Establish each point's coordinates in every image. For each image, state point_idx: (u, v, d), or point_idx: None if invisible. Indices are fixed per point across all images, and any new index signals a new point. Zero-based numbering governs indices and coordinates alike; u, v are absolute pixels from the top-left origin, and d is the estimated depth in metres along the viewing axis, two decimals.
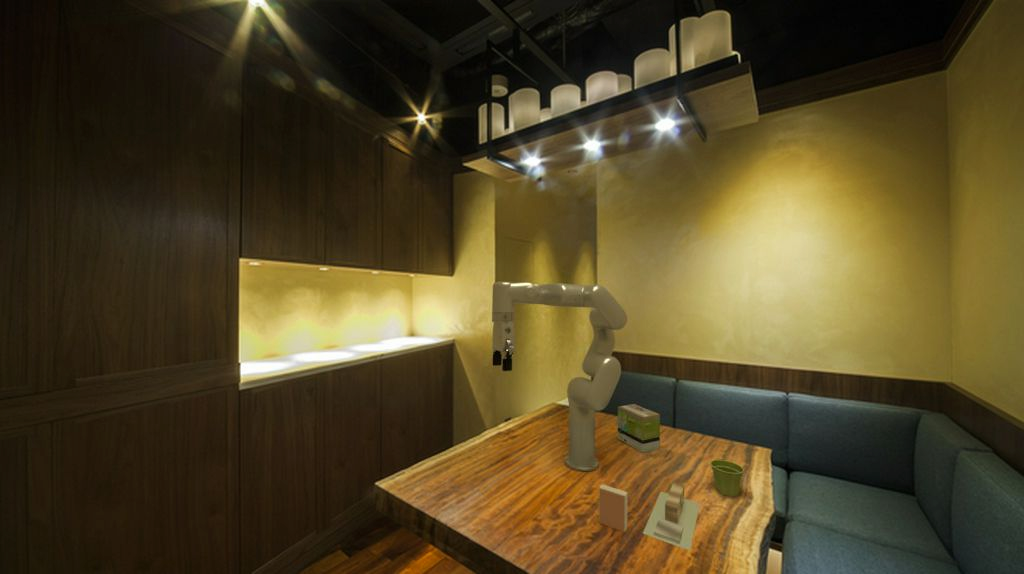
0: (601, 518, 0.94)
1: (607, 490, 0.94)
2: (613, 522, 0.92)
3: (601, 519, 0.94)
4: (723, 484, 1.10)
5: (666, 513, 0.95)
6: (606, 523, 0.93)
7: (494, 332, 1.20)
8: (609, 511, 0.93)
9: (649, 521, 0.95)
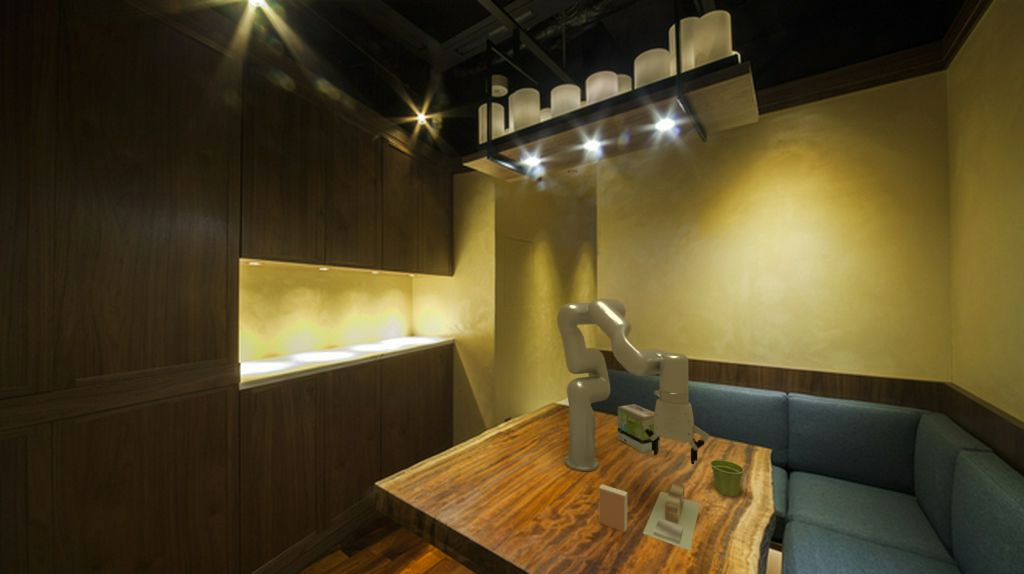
0: (601, 518, 0.94)
1: (607, 490, 0.94)
2: (613, 522, 0.92)
3: (601, 519, 0.94)
4: (723, 484, 1.10)
5: (666, 513, 0.95)
6: (606, 523, 0.93)
7: None
8: (609, 511, 0.93)
9: (649, 521, 0.95)
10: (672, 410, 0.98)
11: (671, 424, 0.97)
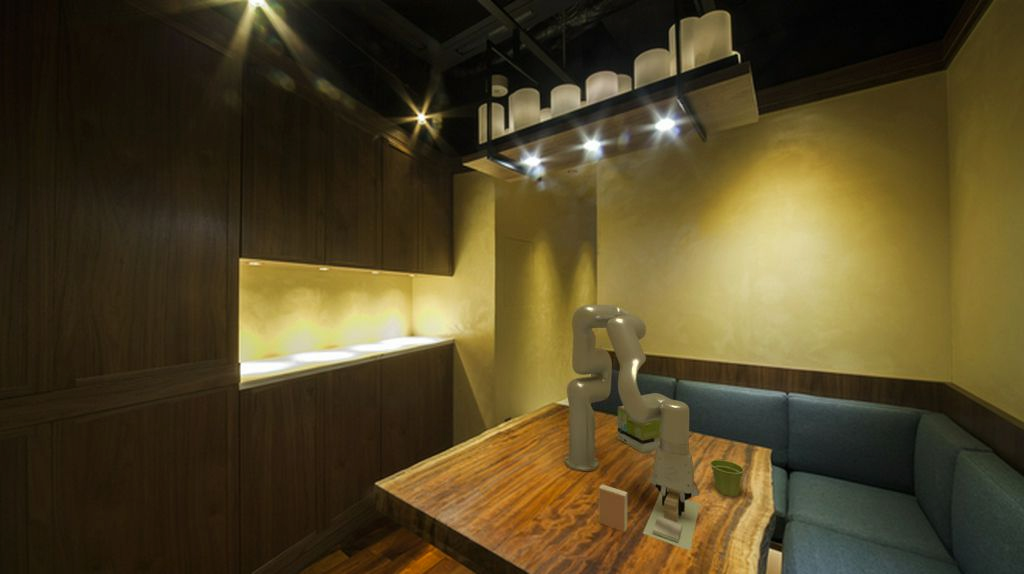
0: (601, 518, 0.94)
1: (607, 490, 0.94)
2: (613, 522, 0.92)
3: (601, 519, 0.94)
4: (723, 484, 1.10)
5: (665, 512, 0.95)
6: (606, 523, 0.93)
7: None
8: (609, 511, 0.93)
9: (649, 521, 0.95)
10: (672, 460, 0.97)
11: (671, 474, 0.97)
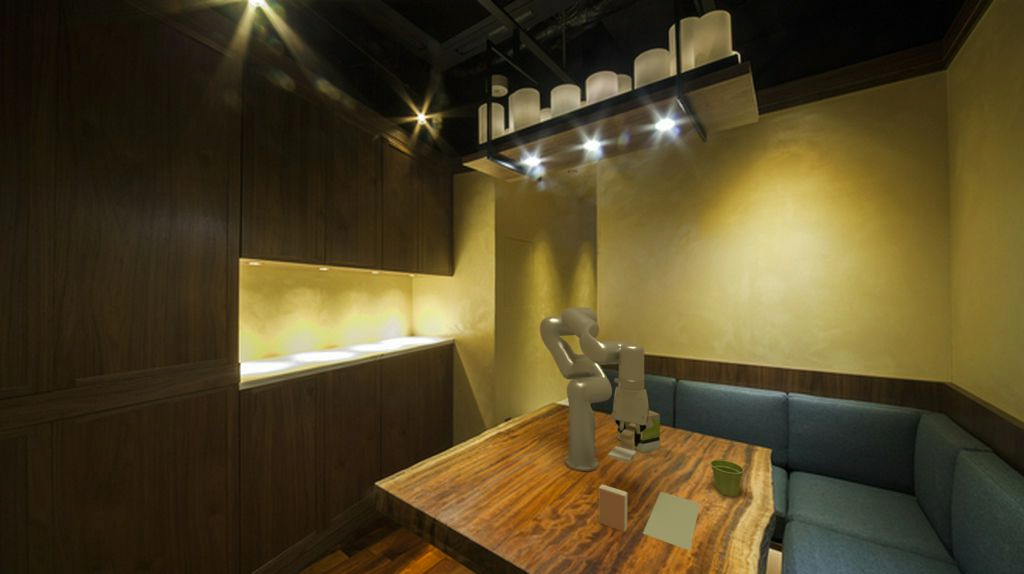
0: (601, 518, 0.94)
1: (607, 490, 0.94)
2: (613, 522, 0.92)
3: (601, 519, 0.94)
4: (723, 484, 1.10)
5: (622, 441, 1.05)
6: (606, 523, 0.93)
7: None
8: (609, 511, 0.93)
9: (649, 521, 0.95)
10: (628, 396, 1.07)
11: (628, 408, 1.07)
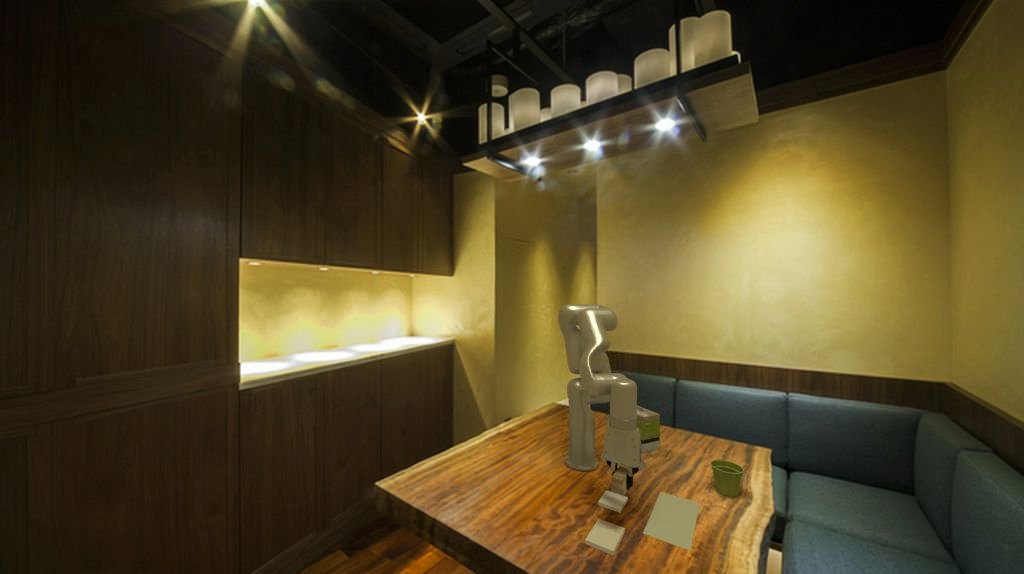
0: None
1: None
2: None
3: None
4: (723, 484, 1.10)
5: (613, 486, 0.98)
6: None
7: None
8: None
9: (649, 521, 0.95)
10: (620, 435, 1.00)
11: (619, 449, 1.00)
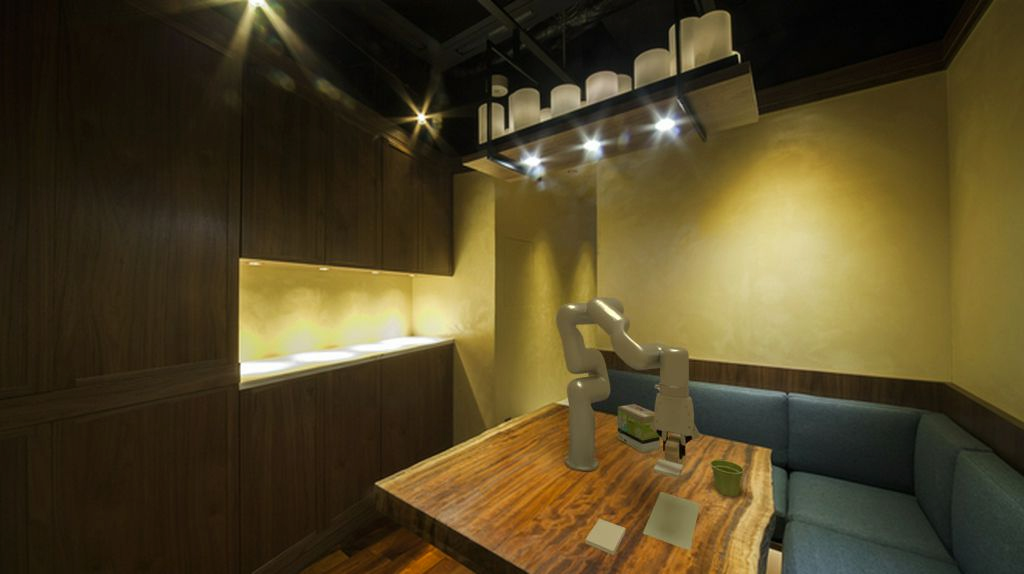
0: None
1: None
2: None
3: None
4: (723, 484, 1.10)
5: (666, 454, 0.95)
6: None
7: None
8: None
9: (649, 521, 0.95)
10: (672, 403, 0.98)
11: (671, 417, 0.98)
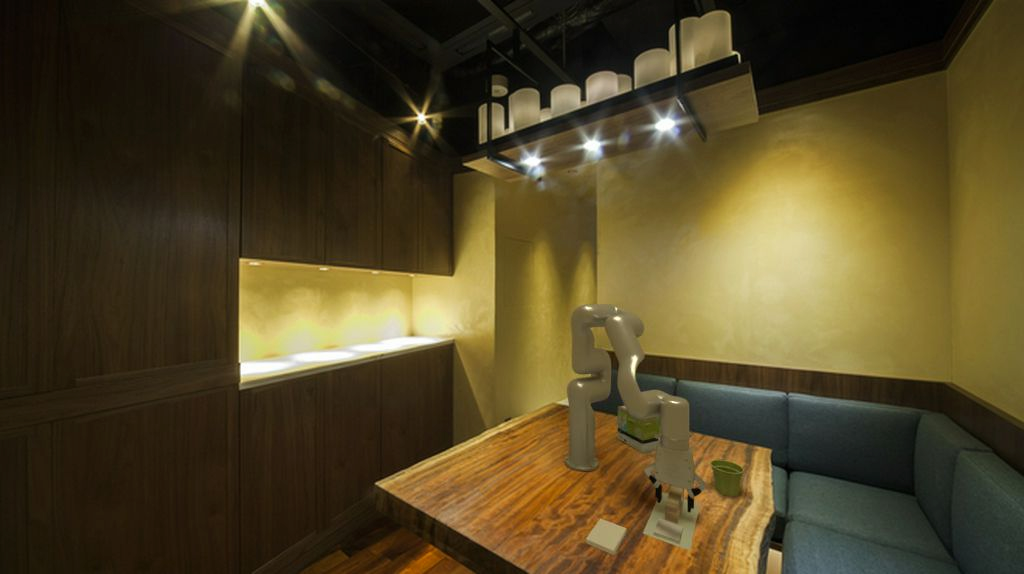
0: None
1: None
2: None
3: None
4: (723, 484, 1.10)
5: (666, 513, 0.95)
6: None
7: None
8: None
9: (649, 521, 0.95)
10: (672, 456, 0.97)
11: (672, 470, 0.97)
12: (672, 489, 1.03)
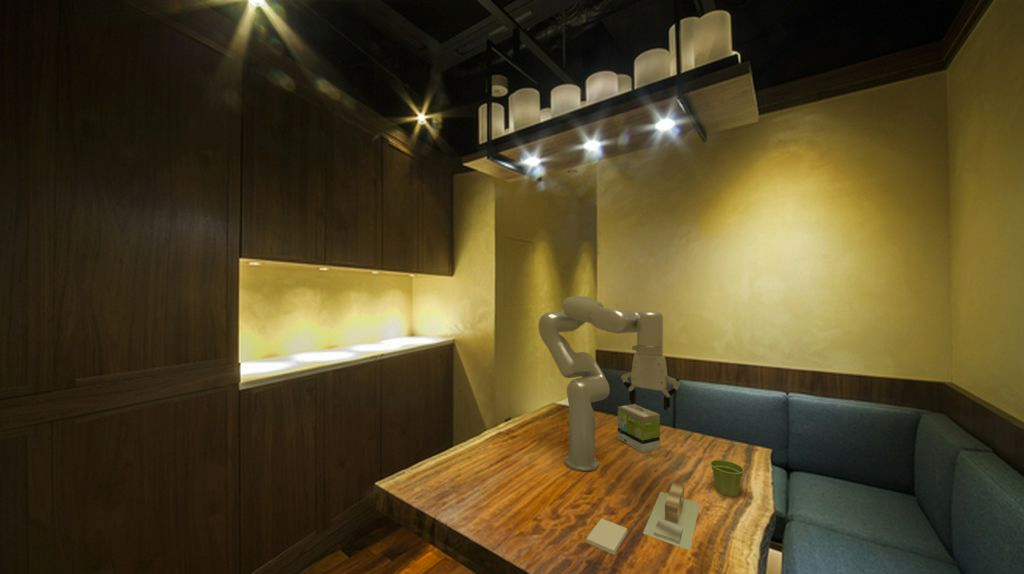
0: None
1: None
2: None
3: None
4: (723, 484, 1.10)
5: (666, 513, 0.95)
6: None
7: None
8: None
9: (649, 521, 0.95)
10: (647, 362, 1.07)
11: (646, 375, 1.07)
12: (672, 489, 1.03)
